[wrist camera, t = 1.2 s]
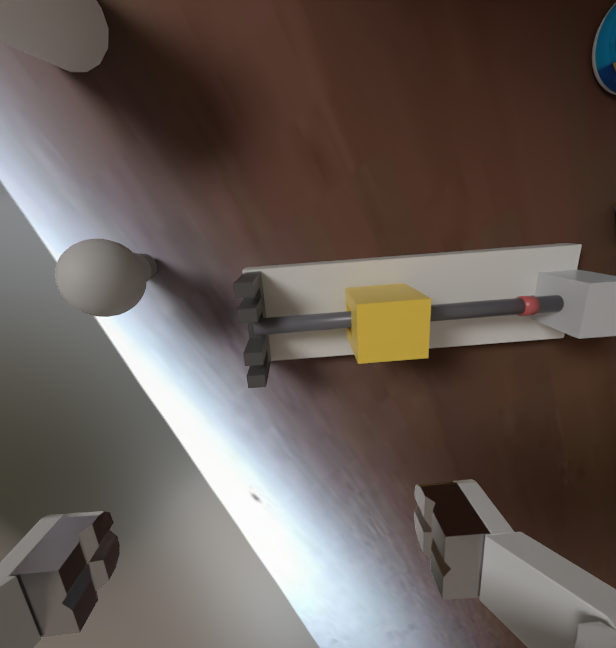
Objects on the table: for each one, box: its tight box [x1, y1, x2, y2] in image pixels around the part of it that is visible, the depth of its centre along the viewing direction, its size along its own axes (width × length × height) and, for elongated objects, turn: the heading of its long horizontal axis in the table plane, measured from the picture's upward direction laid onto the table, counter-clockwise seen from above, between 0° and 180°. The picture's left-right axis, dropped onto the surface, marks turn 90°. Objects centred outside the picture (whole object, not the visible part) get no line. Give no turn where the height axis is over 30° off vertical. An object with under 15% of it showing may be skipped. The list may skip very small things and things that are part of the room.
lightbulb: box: [55, 239, 157, 317], centre depth 28 cm, size 6×6×11 cm
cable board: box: [233, 243, 616, 388], centre depth 31 cm, size 10×34×8 cm, turn 94°
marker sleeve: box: [345, 283, 431, 364], centre depth 29 cm, size 5×6×7 cm
